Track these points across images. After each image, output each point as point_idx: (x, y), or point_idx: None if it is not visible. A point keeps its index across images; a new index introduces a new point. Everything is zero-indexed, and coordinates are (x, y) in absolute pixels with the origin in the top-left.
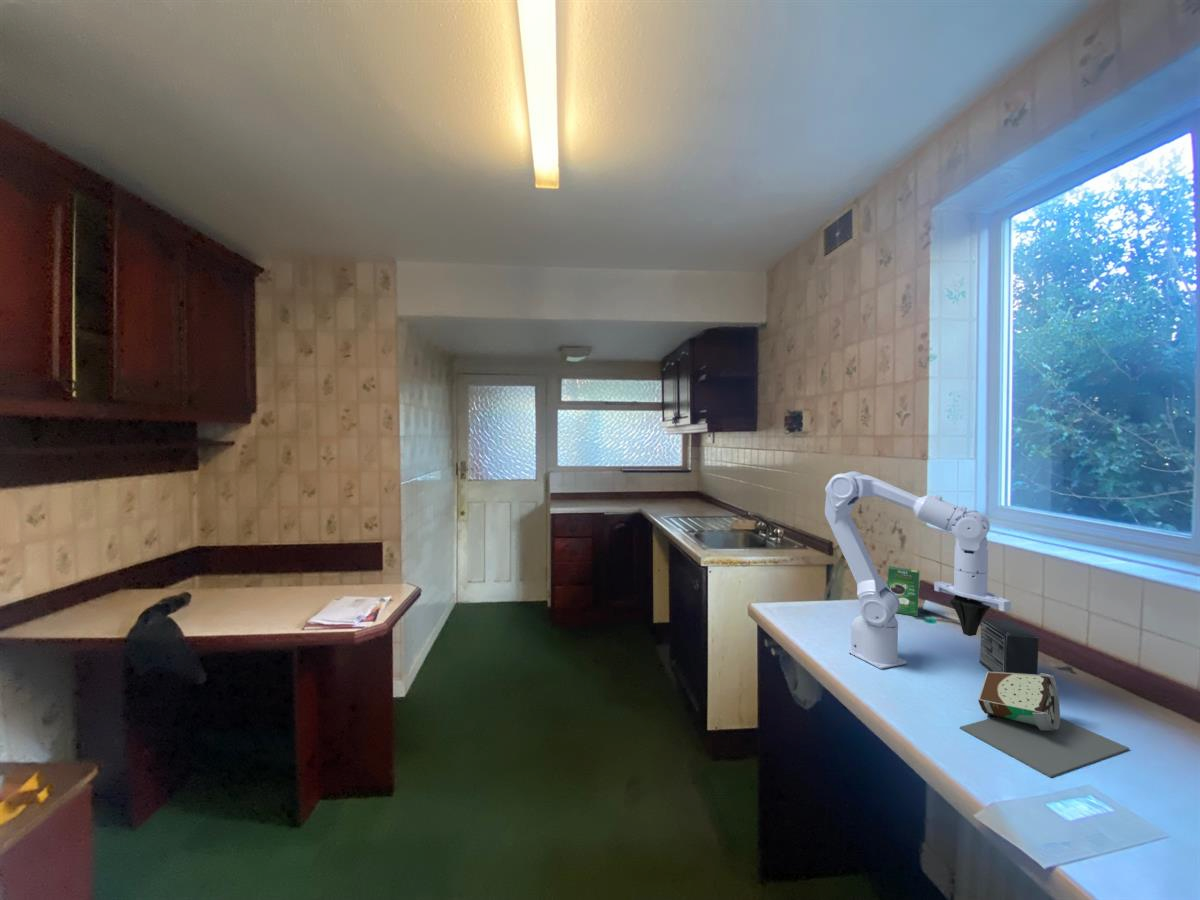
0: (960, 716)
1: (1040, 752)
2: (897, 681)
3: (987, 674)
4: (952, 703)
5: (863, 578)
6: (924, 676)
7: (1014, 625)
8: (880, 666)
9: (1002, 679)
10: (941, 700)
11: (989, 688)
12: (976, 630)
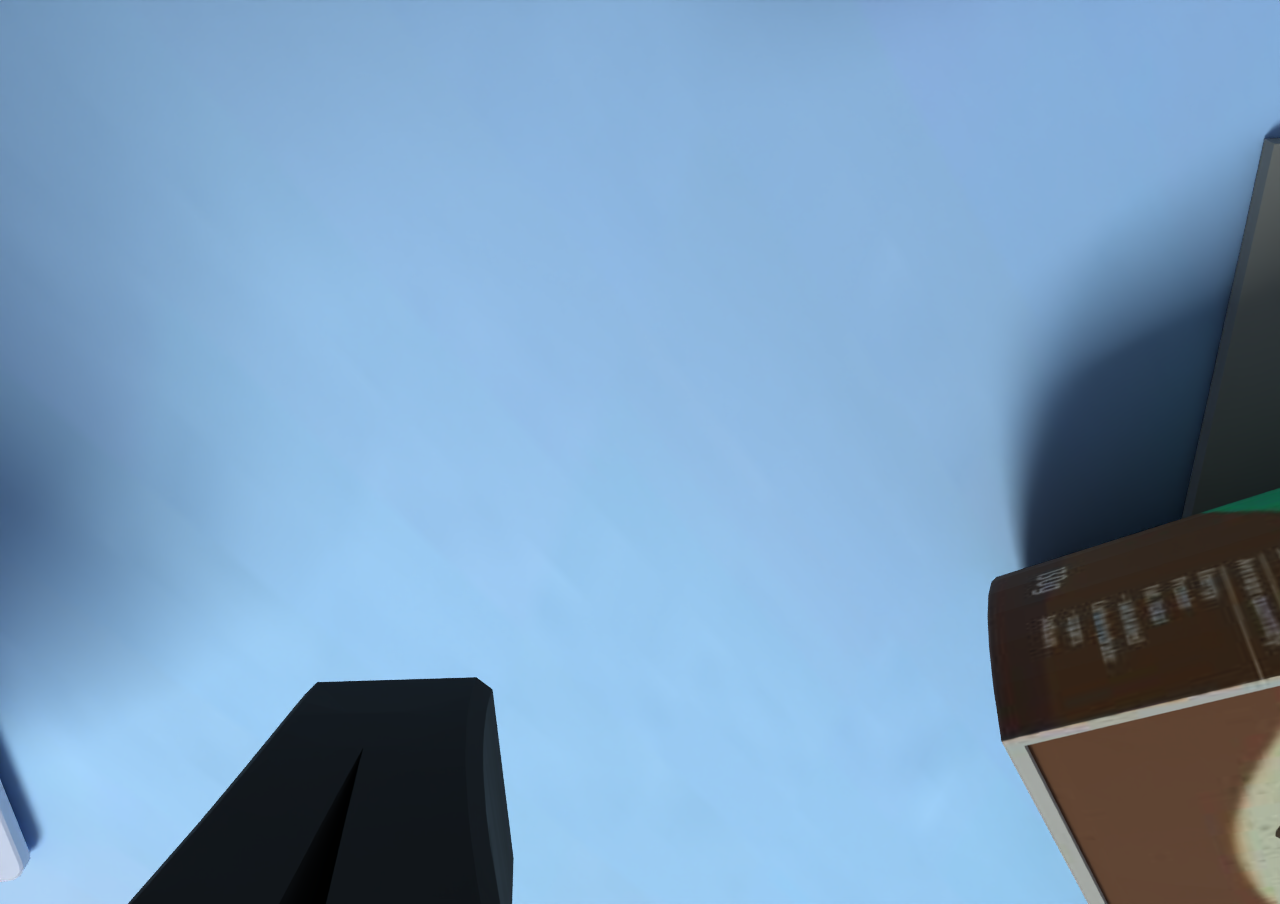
0: (967, 897)
1: None
2: None
3: (1038, 776)
4: (792, 796)
5: None
6: (246, 603)
7: None
8: (8, 877)
9: (1246, 769)
10: (715, 832)
11: (1167, 894)
12: (491, 789)
